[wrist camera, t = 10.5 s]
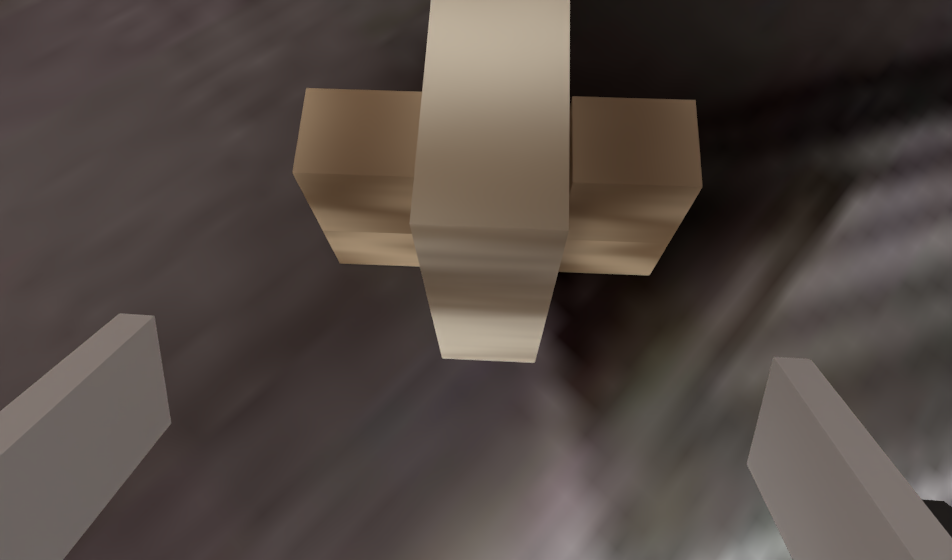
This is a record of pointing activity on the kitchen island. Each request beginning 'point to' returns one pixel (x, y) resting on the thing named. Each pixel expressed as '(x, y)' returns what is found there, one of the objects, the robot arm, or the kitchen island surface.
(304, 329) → the kitchen island surface
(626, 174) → the oak slot board
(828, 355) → the kitchen island surface
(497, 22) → the cream wavy slab
